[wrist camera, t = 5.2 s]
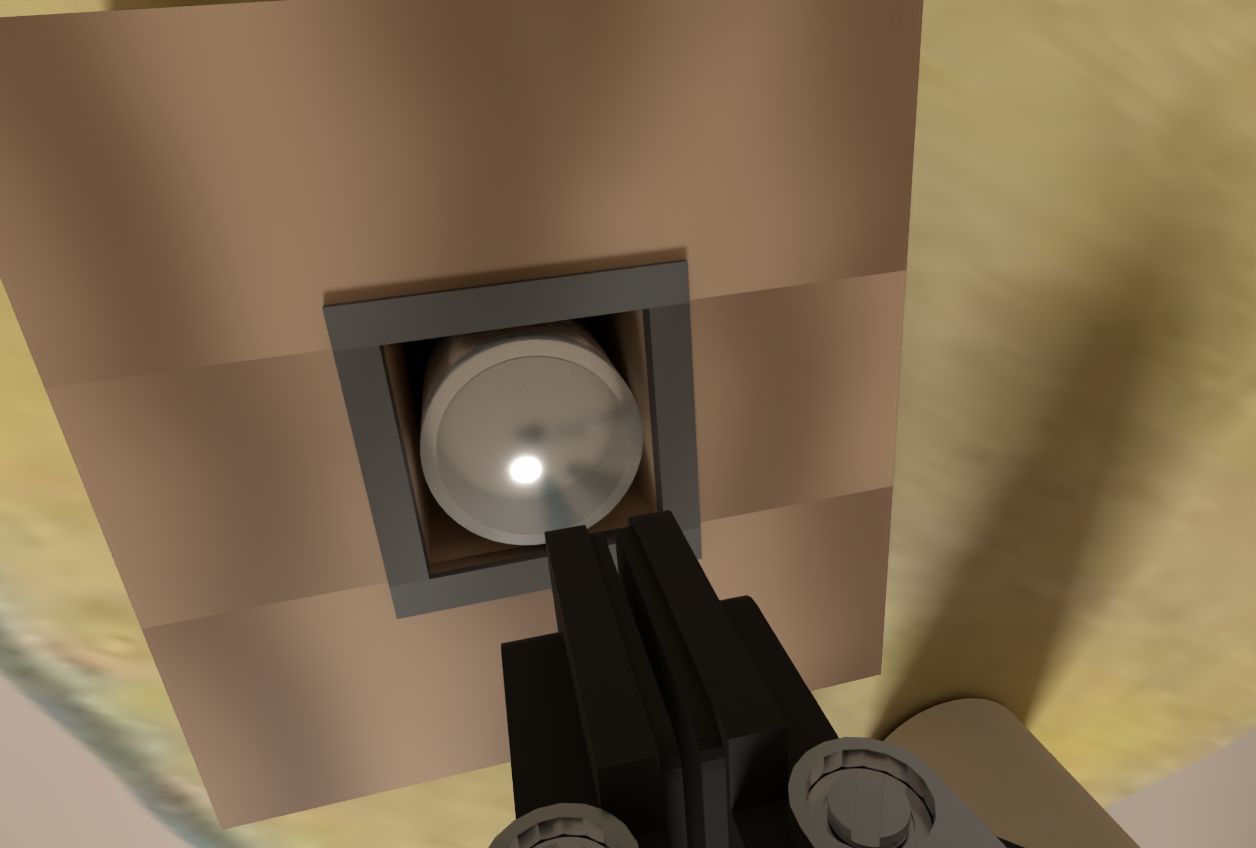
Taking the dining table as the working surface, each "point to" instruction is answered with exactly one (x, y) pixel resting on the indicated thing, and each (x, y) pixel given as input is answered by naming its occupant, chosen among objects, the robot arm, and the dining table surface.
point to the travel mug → (1007, 777)
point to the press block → (451, 331)
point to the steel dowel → (526, 430)
